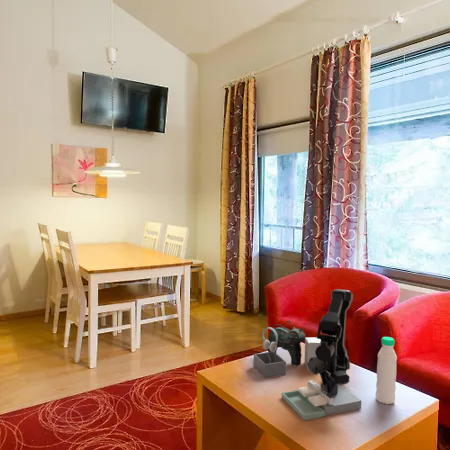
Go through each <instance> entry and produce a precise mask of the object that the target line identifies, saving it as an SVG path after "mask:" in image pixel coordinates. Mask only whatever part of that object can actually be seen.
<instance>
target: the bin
mask: <svg viewBox="0 0 450 450" xmlns="http://www.w3.org/2000/svg"><path fill="white" fill-rule="evenodd" d="M281 398H282V400H283V401H284V402H285V403H286V404H287V405H288V406H289V407H290V408H291V409H292V410H293V411H294V412H295V413H296V414H297V415H298V416H299V417H300V418H301V419H302V420H303V421H310V420H314V419H320V418H324V417H325V416H326V415H325V411H324V410H323V409H322V408H321V407H319V406H316V407H315V406H314V405H313V404H312V403H311V402H310V401H309V400H308V396H307V397H304V396H303V395H302V394H301V393H300V392H299V391H298V389H295V390H290V391H284V392H281Z"/></svg>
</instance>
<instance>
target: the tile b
mask: <svg viewBox="0 0 450 450" xmlns="http://www.w3.org/2000/svg"><path fill="white" fill-rule="evenodd" d="M308 400H309V401H310V402H311V403H312V404H313V405H314V406H315V407H316V406H321V405H326V404H327V401H326V400H325V399H324V398H323V397H322V396H321V395H315V396H310V397H308Z"/></svg>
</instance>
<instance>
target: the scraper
mask: <svg viewBox="0 0 450 450" xmlns="http://www.w3.org/2000/svg"><path fill="white" fill-rule="evenodd" d="M320 384H321V387H320V386H319V385H320ZM320 384H318V383H317V382H316V381H314V380H313V379H310V380H307V386H310V387H311V388H312V389H313V390H314V391H316V394H317V395H321V396H322V397H323V398H324V399H325V400H326V401H327V403H328V404H329V405H333V404H334V397H333V396H332V395H335V394H337V393H338V384H336V385H335V387H334V388H333V390H332V392H331V393H329V392H328V382H326V383H322V382H321V383H320Z"/></svg>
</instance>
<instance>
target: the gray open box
mask: <svg viewBox="0 0 450 450" xmlns="http://www.w3.org/2000/svg"><path fill="white" fill-rule="evenodd" d="M266 353H267V354H268V355H267V354H266ZM268 356H269V357H270V358H269V357H268ZM270 360H271V362H270ZM269 363H270V364H269ZM253 368H254V369H255V370H256V371H257V372H258V374H260V375H261V376H262V377H263V378H264V379H268V378H272V377H273V378H274V377H279V376H280V377H281V376H286V373H287V371H286V368H287V362H286V360H284V359H283V358H282V357H281V356H280V355H278V354H277V352H276V353H275V352H268V351H266V352H261V353H253Z"/></svg>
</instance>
